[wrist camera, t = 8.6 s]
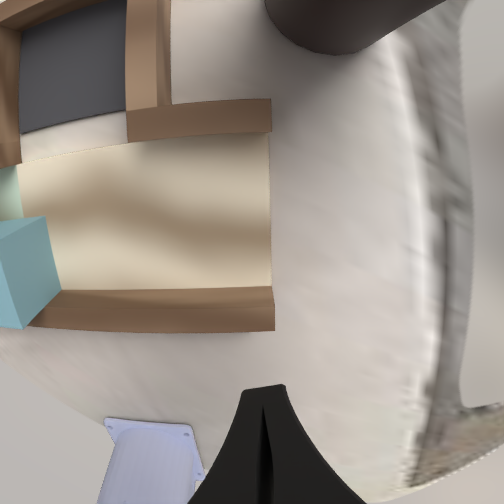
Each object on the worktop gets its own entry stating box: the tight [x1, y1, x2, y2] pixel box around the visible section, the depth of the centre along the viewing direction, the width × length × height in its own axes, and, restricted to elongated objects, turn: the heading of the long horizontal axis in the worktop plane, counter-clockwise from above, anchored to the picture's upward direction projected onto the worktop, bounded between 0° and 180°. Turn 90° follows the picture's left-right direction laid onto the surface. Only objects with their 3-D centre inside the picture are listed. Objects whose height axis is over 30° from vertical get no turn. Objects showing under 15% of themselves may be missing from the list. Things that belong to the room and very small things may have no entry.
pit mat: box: [19, 0, 127, 134], centre depth 14 cm, size 8×9×1 cm
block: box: [0, 216, 62, 329], centre depth 15 cm, size 5×5×5 cm
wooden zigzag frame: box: [0, 0, 275, 333], centre depth 15 cm, size 21×22×3 cm
